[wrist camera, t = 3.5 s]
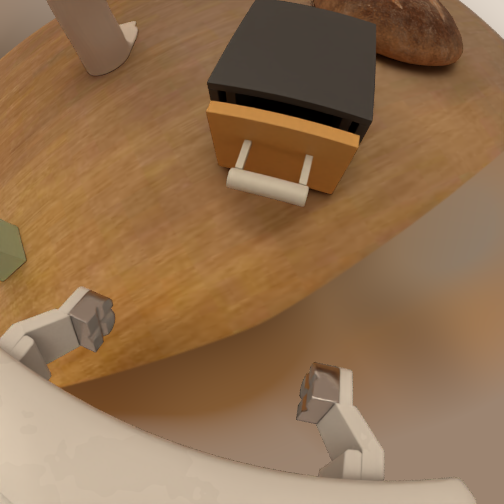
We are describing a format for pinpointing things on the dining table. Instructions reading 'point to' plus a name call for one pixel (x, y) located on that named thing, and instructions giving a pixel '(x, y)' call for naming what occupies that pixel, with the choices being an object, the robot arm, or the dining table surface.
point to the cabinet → (302, 61)
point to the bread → (406, 28)
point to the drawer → (279, 147)
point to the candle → (95, 33)
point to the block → (10, 249)
